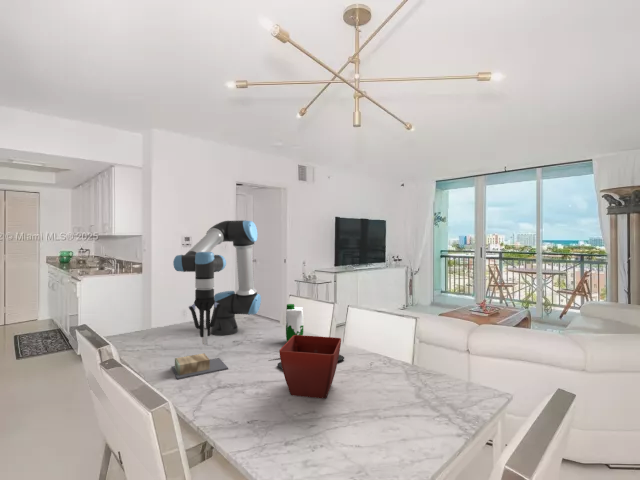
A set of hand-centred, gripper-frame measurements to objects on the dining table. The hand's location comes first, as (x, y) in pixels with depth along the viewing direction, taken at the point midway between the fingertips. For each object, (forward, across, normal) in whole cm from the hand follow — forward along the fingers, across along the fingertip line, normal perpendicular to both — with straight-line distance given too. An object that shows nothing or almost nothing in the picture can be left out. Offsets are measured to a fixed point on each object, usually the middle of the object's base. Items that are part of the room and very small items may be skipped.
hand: (204, 344), depth 147 cm
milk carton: (+10, -48, -10) cm, 50 cm away
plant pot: (+10, -28, +42) cm, 51 cm away
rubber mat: (+10, +2, 0) cm, 10 cm away
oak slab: (+7, -1, 0) cm, 7 cm away
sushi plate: (+11, -40, +12) cm, 43 cm away
